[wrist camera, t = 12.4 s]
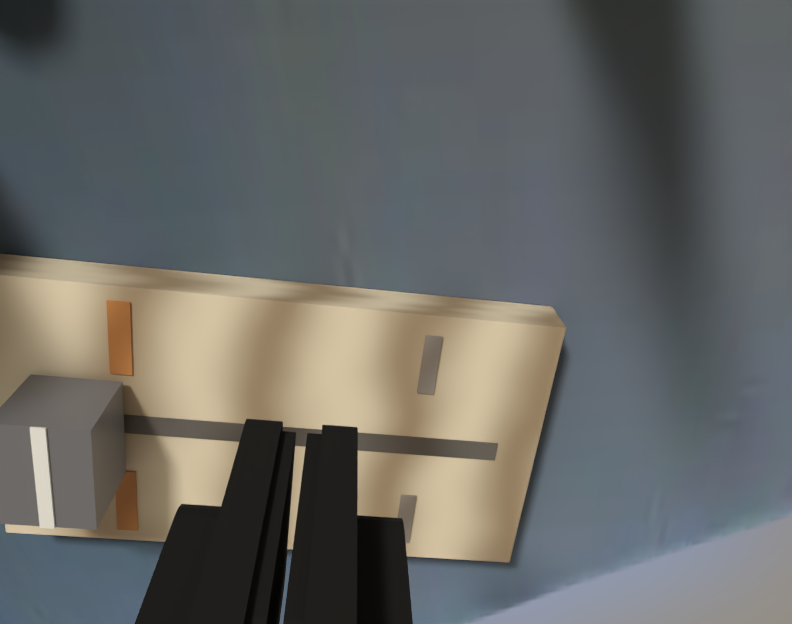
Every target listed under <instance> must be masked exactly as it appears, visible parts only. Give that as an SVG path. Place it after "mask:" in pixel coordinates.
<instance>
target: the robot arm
mask: <svg viewBox="0 0 792 624" xmlns="http://www.w3.org/2000/svg"><path fill="white" fill-rule="evenodd" d="M295 442H296V432H288V431H283V421H271V420H258V419H246V421H245V424H244V428H243V431H242V435H241V438H240V442H239V445H238V449H237V452H236V456H235V459H234V463H233V467H232V470H231V474H230V477H229V481H228V484H227V488H226V491H225V495H224V498H223V502H222V505H221V506H207V505H191V504H181V505H180V506H179V507H178V510H177V512H176V514H175V516H174V519H173V522H172V525H171V527H170V530H169V533H168V535H167V538H166V541H165V543H164V546H163V549H162V552H161V554H160V557H159V560H158V562H157V565H156V568H155V570H154V573H153V576H152V579H151V581H150V584H149V587H148V589H147V592H146V595H145V597H144V600H143V603H142V606H141V608H140V611H139V614H138V616H137V619H136V622H135V624H279V621H280V613H281V606H282V598H283V590H284V582H285V572H286V559H287V546H288V533H289V520H290V507H291V494H292V481H293V468H294V455H295ZM357 503H358V428H357V427H349V426H336V425H323V424H322V434H315V433H307V440H306V448H305V455H304V463H303V471H302V479H301V487H300V495H299V503H298V511H297V519H296V527H295V535H294V543H293V551H292V559H291V567H290V575H289V583H288V591H287V599H286V607H285V615H284V623H283V624H413V622H412V611H411V599H410V588H409V576H408V565H407V553H406V542H405V530H404V523H403V520H402V518H391V517H376V516H360V515H357Z"/></svg>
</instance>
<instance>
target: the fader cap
mask: <svg viewBox="0 0 792 624" xmlns="http://www.w3.org/2000/svg"><path fill="white" fill-rule="evenodd" d="M125 474H126V457H125V432H124V407H123V382H119V381H107V380H94V379H82V378H69V377H57V376H45V375H32V374H30V376H29V377H28V378H27V379H26V380H25V381H24V382H23V383H22V384H21V385H20V386H19V387H18V389H17V390H16V391H15V392H14V393H13V394H12V395H11V396H10V397H9V398H8V399H7V401H6V402H5V403H4V404H3V405H2V406H1V407H0V524H10V525H27V526H40V528H48V529H55V527H59V528H76V529H92V530H97V528H98V526H99V524H100V522H101V520H102V519H103V517H104V515H105V513H106V511H107V509H108V507H109V505H110V503H111V501H112V499H113V497H114V495H115V493H116V491H117V489H118V487H119V485H120V483H121V481H122V479H123V478H124V476H125Z"/></svg>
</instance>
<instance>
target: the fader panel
mask: <svg viewBox="0 0 792 624" xmlns="http://www.w3.org/2000/svg"><path fill="white" fill-rule="evenodd" d="M565 330H566V327H565V325H564V324H563V322H562V321H561V319H560V318H559V316H558V315H557V313H556V312H555V310H554V309H553V307H550V306H540V305H529V304H519V303H509V302H498V301H488V300H477V299H467V298H457V297H446V296H436V295H425V294H415V293H405V292H394V291H384V290H373V289H363V288H353V287H342V286H332V285H321V284H311V283H301V282H290V281H280V280H269V279H259V278H249V277H238V276H228V275H217V274H207V273H197V272H186V271H176V270H165V269H155V268H145V267H134V266H124V265H113V264H103V263H93V262H82V261H72V260H61V259H51V258H40V257H30V256H20V255H9V254H0V407H1V406H2V405H3V404H4V403H5V402H6V401H7V399H8V398H9V397H10V396H11V395H12V394H13V393H14V392H15V391H16V390H17V389H18V387H19V386H20V385H21V384H22V383H23V382H24V381H25V380H26V379H27V378H28V377H29V376H30V374H32V375H45V376H57V377H69V378H82V379H94V380H107V381H119V382H123V407H124V432H125V457H126V474H125V476H124V478H123V479H122V481H121V483H120V485H119V487H118V489H117V491H116V493H115V495H114V497H113V499H112V501H111V503H110V505H109V507H108V509H107V511H106V513H105V515H104V517H103V519H102V520H101V522H100V524H99V526H98V528H97V530H92V529H76V528H59V527H55V529H48V528H40V526H27V525H10V524H5V528H6V532H9V533H26V534H42V535H59V536H76V537H92V538H109V539H126V540H143V541H159V542H165V541H166V538H167V535H168V533H169V530H170V527H171V525H172V522H173V519H174V516H175V514H176V512H177V510H178V507H179V506H180V505H181V504H191V505H207V506H221V505H222V502H223V498H224V495H225V491H226V488H227V484H228V481H229V477H230V474H231V470H232V467H233V463H234V459H235V456H236V452H237V449H238V445H239V442H240V438H241V435H242V431H243V428H244V424H245V421H246V419H258V420H271V421H283V431H288V432H296V442H295V455H294V468H293V481H292V494H291V507H290V520H289V533H288V546H287V549H293V543H294V535H295V527H296V519H297V511H298V503H299V495H300V487H301V479H302V471H303V463H304V455H305V448H306V440H307V433H315V434H322V424H323V425H336V426H349V427H357V428H358V503H357V515H360V516H376V517H391V518H402V520H403V523H404V530H405V542H406V553H407V556H410V557H427V558H443V559H460V560H477V561H493V562H510V558H511V553H512V549H513V545H514V541H515V537H516V533H517V529H518V525H519V520H520V516H521V512H522V508H523V504H524V500H525V496H526V491H527V487H528V483H529V479H530V475H531V471H532V467H533V463H534V458H535V454H536V450H537V446H538V442H539V438H540V434H541V429H542V425H543V421H544V417H545V413H546V409H547V405H548V401H549V396H550V392H551V388H552V384H553V380H554V376H555V372H556V367H557V363H558V359H559V355H560V351H561V347H562V343H563V339H564V334H565Z"/></svg>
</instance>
